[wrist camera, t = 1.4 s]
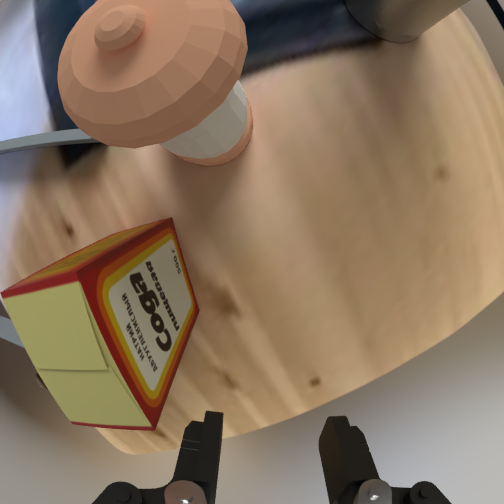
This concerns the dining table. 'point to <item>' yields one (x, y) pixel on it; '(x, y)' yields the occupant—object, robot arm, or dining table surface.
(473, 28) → the dining table surface
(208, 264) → the dining table surface
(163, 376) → the baking soda box
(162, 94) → the pepper shaker
